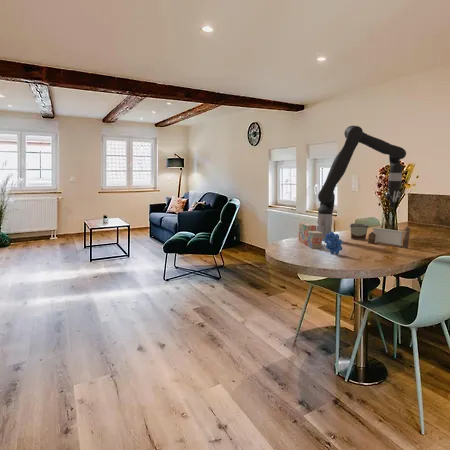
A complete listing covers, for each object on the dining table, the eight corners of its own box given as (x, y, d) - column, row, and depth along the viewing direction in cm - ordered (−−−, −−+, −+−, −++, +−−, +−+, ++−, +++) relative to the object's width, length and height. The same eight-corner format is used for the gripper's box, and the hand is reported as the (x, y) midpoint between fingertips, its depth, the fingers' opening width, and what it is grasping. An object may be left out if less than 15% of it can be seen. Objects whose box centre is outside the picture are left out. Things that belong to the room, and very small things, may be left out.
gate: (402, 245, 211) (403, 231, 210) (400, 245, 210) (402, 231, 208) (373, 240, 224) (374, 227, 223) (371, 240, 223) (372, 227, 221)
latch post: (372, 243, 219) (373, 232, 218) (367, 243, 221) (368, 232, 220) (374, 243, 221) (375, 232, 220) (370, 242, 223) (371, 231, 222)
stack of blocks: (321, 248, 202) (322, 227, 200) (311, 248, 201) (312, 227, 199) (307, 241, 223) (308, 222, 221) (298, 241, 222) (299, 222, 220)
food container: (365, 237, 239) (366, 223, 237) (367, 239, 233) (369, 225, 231) (346, 237, 240) (347, 223, 238) (348, 238, 234) (350, 224, 232)
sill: (400, 247, 209) (400, 246, 209) (374, 243, 220) (374, 242, 220) (402, 246, 212) (402, 245, 212) (377, 242, 223) (377, 241, 223)
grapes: (318, 252, 191) (320, 231, 189) (326, 250, 195) (327, 230, 193) (336, 256, 182) (338, 234, 180) (344, 255, 186) (346, 233, 184)
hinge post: (407, 248, 207) (409, 227, 205) (401, 247, 209) (403, 226, 207) (408, 247, 209) (411, 226, 207) (403, 246, 211) (405, 226, 209)
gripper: (391, 180, 212) (388, 208, 215) (407, 180, 217) (404, 207, 220) (382, 179, 219) (379, 207, 222) (398, 180, 224) (395, 206, 227)
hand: (392, 207), depth 221 cm, fingers closed
